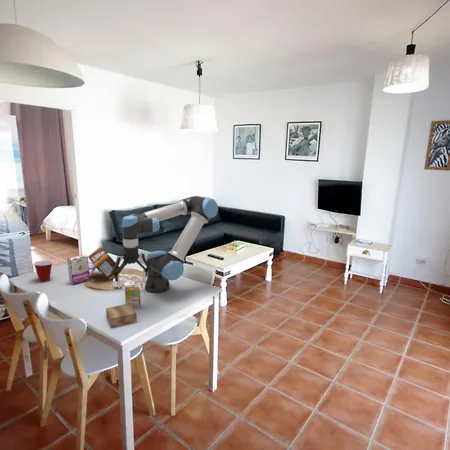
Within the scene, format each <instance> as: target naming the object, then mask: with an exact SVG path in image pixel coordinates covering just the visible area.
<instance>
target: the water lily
mask: <svg viewBox="0 0 450 450" xmlns="http://www.w3.org/2000/svg"><path fill="white" fill-rule="evenodd" d="M88 265H89V275H92V274H93V273H94V272H95V271H96V270H97V271H98V272H99V273H101V271H100V270H99V269H98V268H97V267H96V266H95V265H94V264H93V263H92V261H91V262H90V261H88Z"/></svg>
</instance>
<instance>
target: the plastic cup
mask: <svg viewBox="0 0 450 450" xmlns="http://www.w3.org/2000/svg"><path fill="white" fill-rule="evenodd" d="M32 263H33V265H34V268H35V271H36V274H37V278H38V280H39V282H41V283H44V282H48V281H50V280H51V279H50V278H51V274H52V265H53V263H54V261H52V260H39V261H34V262H32Z"/></svg>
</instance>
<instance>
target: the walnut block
mask: <svg viewBox="0 0 450 450" xmlns="http://www.w3.org/2000/svg"><path fill="white" fill-rule="evenodd" d="M134 308H135V307H132V305H131V303H129V304H126V303H125V304H119V305H115V306H110V307H106V308H105V311H106V312H105V313H106V314H105V315H106V319H107V321H108V324H109V327H110V328H116V327H120V326H125V325H129V324H133V323H134V324H135V323H137V321H138V319H137V312H136V309H134Z"/></svg>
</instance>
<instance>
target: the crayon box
mask: <svg viewBox="0 0 450 450" xmlns="http://www.w3.org/2000/svg"><path fill="white" fill-rule="evenodd" d="M132 288H135V289H132ZM140 290H141V289H140V288H139V287H125V290H124V296H125V297H124V298H125V301H124V303H125V304H129V303H131V305H132V307H133V308H140V307H141V291H140Z"/></svg>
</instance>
